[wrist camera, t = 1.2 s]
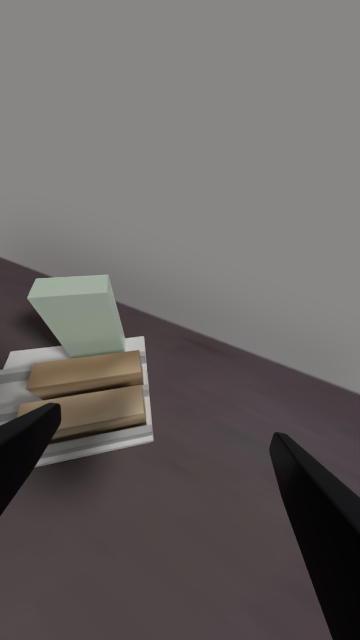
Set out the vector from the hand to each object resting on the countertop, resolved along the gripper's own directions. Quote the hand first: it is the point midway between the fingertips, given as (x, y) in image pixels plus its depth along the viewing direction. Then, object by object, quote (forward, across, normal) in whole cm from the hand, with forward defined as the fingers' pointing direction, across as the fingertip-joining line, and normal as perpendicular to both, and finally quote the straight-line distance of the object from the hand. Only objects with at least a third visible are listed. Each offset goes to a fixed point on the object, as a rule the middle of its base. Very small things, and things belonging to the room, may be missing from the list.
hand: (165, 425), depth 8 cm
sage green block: (+16, +10, +5) cm, 19 cm away
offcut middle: (+12, +8, +8) cm, 17 cm away
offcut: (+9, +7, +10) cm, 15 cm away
